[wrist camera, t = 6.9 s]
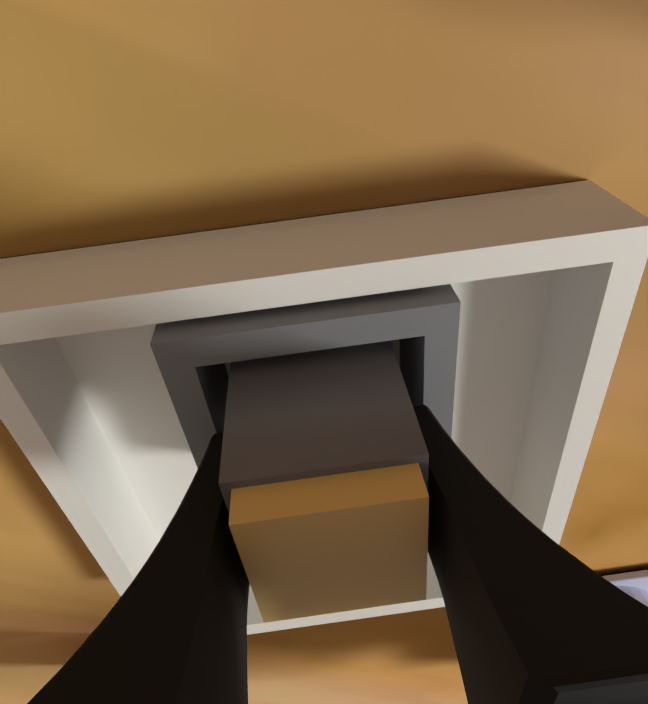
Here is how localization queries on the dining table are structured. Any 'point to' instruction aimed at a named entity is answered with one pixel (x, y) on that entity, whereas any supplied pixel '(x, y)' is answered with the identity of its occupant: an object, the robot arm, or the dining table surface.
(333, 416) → the plug
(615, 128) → the dining table surface
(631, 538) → the dining table surface
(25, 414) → the walled box
